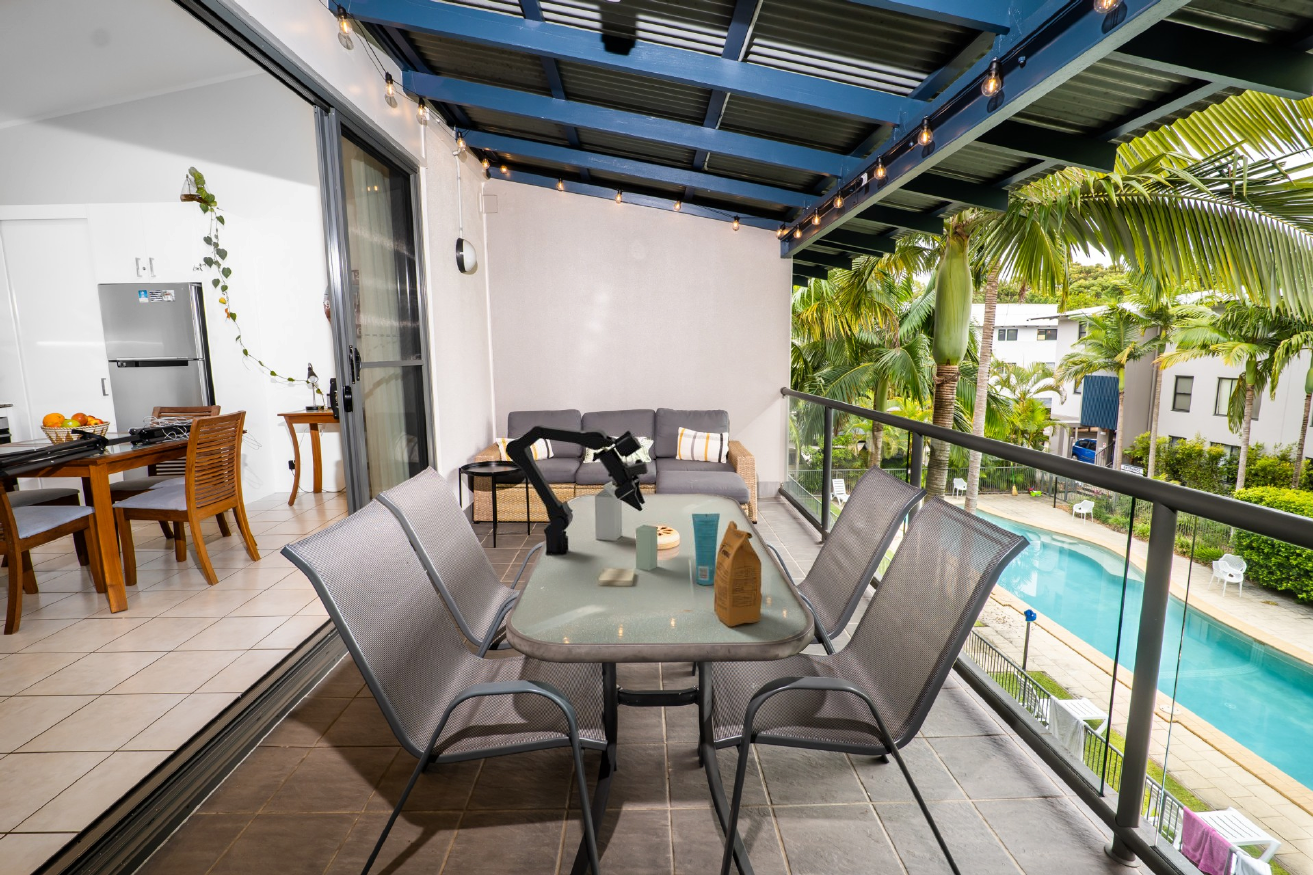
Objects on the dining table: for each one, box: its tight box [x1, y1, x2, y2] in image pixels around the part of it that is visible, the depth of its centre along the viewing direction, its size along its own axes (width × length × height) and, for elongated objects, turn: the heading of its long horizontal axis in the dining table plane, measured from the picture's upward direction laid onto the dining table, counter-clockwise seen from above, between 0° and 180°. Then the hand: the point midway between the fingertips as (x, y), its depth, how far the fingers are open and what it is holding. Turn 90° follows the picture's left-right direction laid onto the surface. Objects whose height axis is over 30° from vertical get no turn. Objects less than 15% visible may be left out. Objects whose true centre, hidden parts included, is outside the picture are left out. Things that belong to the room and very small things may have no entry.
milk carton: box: [594, 481, 623, 542], centre depth 207 cm, size 7×7×19 cm
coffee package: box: [713, 520, 763, 627], centre depth 141 cm, size 10×12×22 cm
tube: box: [691, 512, 720, 586], centre depth 164 cm, size 7×5×19 cm, turn 100°
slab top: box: [597, 568, 636, 587], centre depth 165 cm, size 9×9×2 cm
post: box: [635, 524, 658, 572], centre depth 174 cm, size 4×4×12 cm
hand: (642, 506), depth 189 cm, fingers open, 9 cm apart
